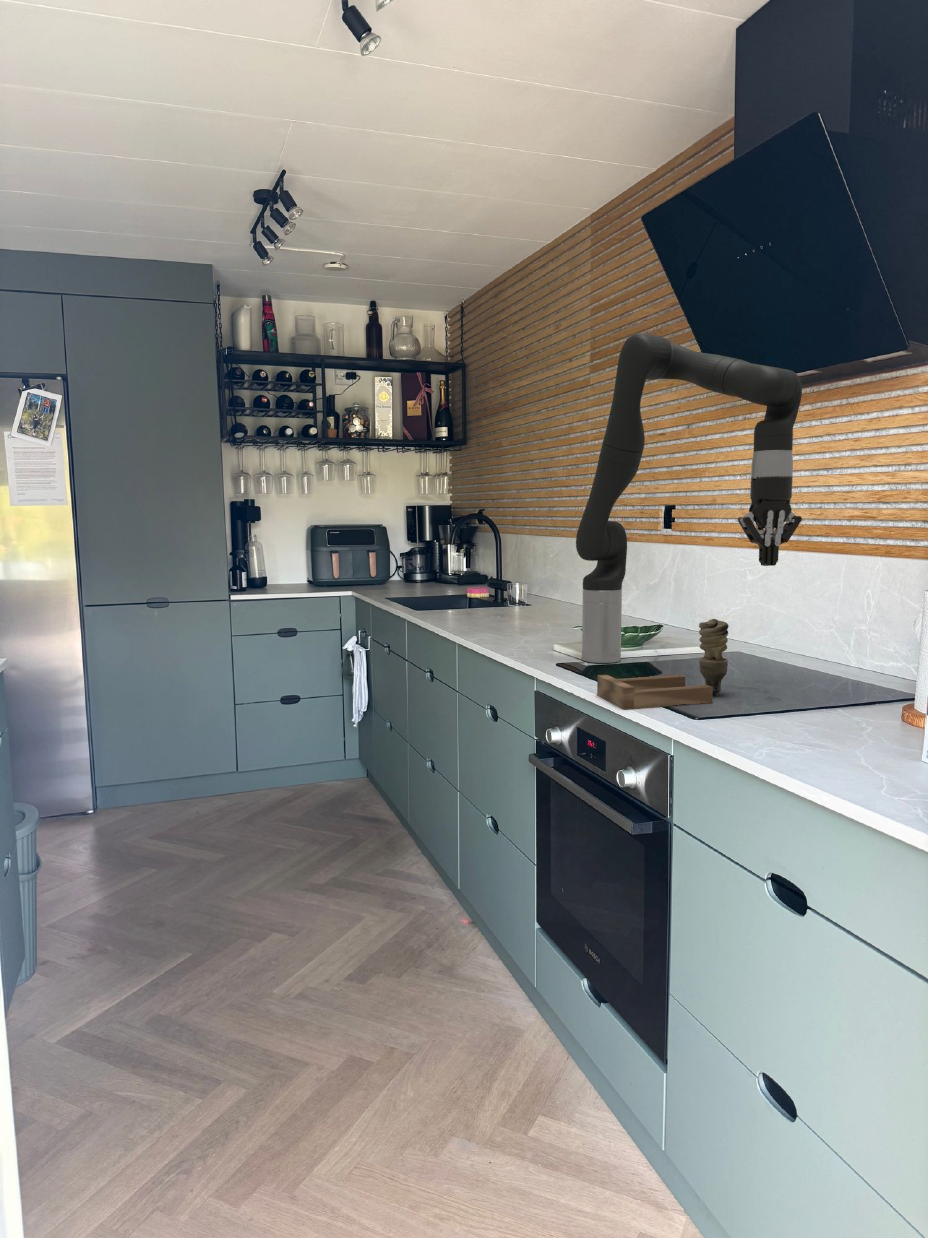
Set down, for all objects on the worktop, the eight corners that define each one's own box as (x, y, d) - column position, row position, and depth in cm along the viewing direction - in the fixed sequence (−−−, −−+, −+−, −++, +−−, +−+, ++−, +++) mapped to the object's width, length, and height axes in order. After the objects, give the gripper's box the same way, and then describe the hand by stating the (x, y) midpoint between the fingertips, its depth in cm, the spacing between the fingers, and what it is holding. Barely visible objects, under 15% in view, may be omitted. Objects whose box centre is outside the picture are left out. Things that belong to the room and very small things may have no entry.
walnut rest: (597, 695, 161) (597, 675, 160) (679, 689, 165) (680, 669, 165) (624, 709, 149) (624, 688, 149) (712, 702, 154) (712, 681, 153)
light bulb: (693, 696, 159) (696, 619, 157) (699, 690, 164) (702, 616, 162) (723, 699, 157) (726, 621, 155) (729, 693, 162) (731, 617, 160)
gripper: (789, 476, 163) (785, 563, 165) (729, 476, 160) (726, 565, 162) (814, 474, 156) (810, 565, 158) (752, 474, 152) (749, 567, 155)
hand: (768, 565), depth 160 cm, fingers closed
